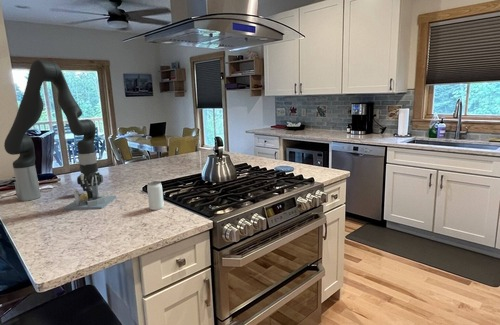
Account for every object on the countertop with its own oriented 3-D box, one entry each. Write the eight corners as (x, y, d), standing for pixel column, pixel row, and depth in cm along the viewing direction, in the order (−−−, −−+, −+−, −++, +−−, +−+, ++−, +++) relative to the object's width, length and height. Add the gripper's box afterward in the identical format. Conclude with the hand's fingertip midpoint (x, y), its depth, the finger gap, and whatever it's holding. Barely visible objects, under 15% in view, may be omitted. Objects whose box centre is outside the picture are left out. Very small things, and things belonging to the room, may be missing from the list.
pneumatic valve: (102, 193, 170) (99, 172, 167) (79, 195, 167) (75, 173, 165) (105, 190, 175) (102, 169, 172) (82, 192, 173) (79, 171, 170)
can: (150, 211, 141) (148, 185, 138) (148, 207, 146) (145, 182, 144) (165, 208, 143) (162, 183, 141) (162, 204, 149) (159, 180, 147)
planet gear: (81, 204, 149) (79, 187, 148) (90, 198, 157) (87, 183, 155) (97, 203, 149) (95, 187, 147) (105, 198, 157) (103, 182, 155)
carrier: (63, 209, 146) (60, 192, 145) (81, 198, 162) (79, 182, 160) (101, 208, 146) (99, 191, 144) (116, 197, 162) (114, 181, 160)
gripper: (88, 159, 156) (92, 192, 160) (71, 165, 142) (77, 201, 146) (103, 159, 156) (107, 192, 159) (88, 165, 142) (93, 201, 145)
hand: (93, 196), depth 153 cm, fingers closed on planet gear, 4 cm apart
